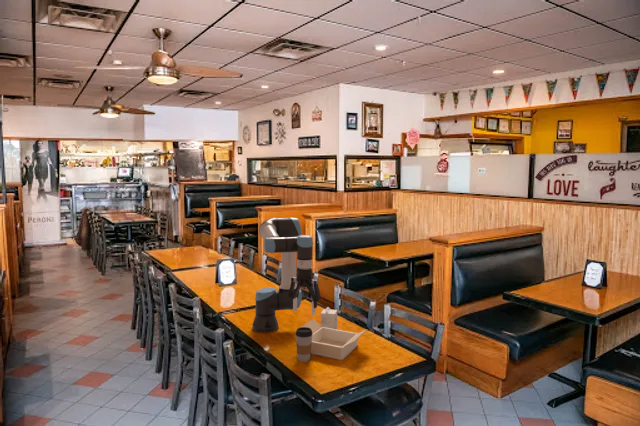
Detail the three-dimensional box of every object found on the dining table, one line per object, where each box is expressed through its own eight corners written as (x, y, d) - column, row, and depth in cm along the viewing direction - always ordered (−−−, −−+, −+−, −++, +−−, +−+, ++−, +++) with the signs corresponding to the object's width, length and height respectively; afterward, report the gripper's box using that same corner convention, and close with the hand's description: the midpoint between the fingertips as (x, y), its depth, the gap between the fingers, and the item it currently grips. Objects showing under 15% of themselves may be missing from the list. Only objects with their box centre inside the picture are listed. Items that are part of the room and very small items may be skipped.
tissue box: (334, 334, 258) (335, 311, 256) (320, 333, 259) (320, 310, 258) (337, 329, 266) (337, 306, 265) (323, 327, 268) (323, 305, 266)
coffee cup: (295, 355, 228) (295, 326, 226) (311, 355, 228) (312, 326, 227) (295, 363, 219) (295, 333, 218) (312, 362, 220) (313, 332, 218)
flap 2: (353, 341, 220) (354, 342, 220) (367, 328, 238) (367, 329, 238) (343, 346, 223) (344, 347, 223) (357, 333, 240) (358, 334, 240)
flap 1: (313, 318, 251) (313, 319, 251) (296, 329, 234) (296, 330, 234) (321, 327, 250) (320, 327, 250) (305, 338, 232) (304, 339, 232)
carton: (303, 352, 232) (303, 340, 231) (322, 338, 251) (322, 326, 251) (342, 360, 222) (342, 348, 222) (358, 345, 242) (358, 333, 242)
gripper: (280, 266, 220) (280, 311, 223) (322, 271, 211) (321, 318, 213) (288, 263, 227) (288, 307, 229) (328, 268, 218) (328, 313, 220)
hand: (304, 312), depth 221 cm, fingers open, 9 cm apart
